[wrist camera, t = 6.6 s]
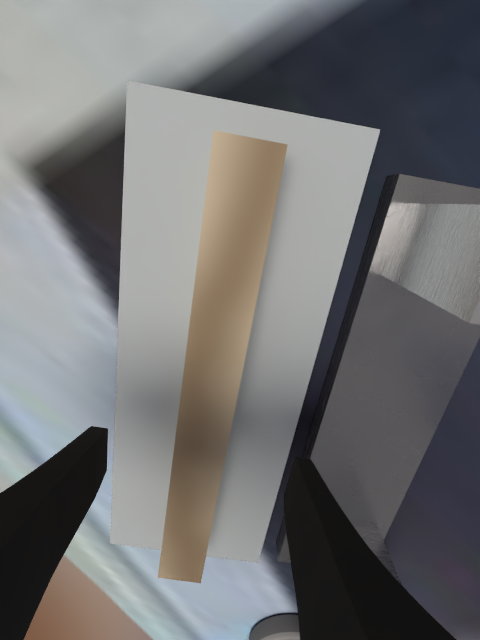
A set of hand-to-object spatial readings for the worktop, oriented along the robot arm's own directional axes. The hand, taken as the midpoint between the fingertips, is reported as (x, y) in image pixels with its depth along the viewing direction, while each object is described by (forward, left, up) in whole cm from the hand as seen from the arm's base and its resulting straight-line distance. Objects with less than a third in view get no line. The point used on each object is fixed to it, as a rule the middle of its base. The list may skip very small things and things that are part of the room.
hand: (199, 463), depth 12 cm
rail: (0, 0, -5) cm, 5 cm away
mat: (0, 0, -6) cm, 6 cm away
